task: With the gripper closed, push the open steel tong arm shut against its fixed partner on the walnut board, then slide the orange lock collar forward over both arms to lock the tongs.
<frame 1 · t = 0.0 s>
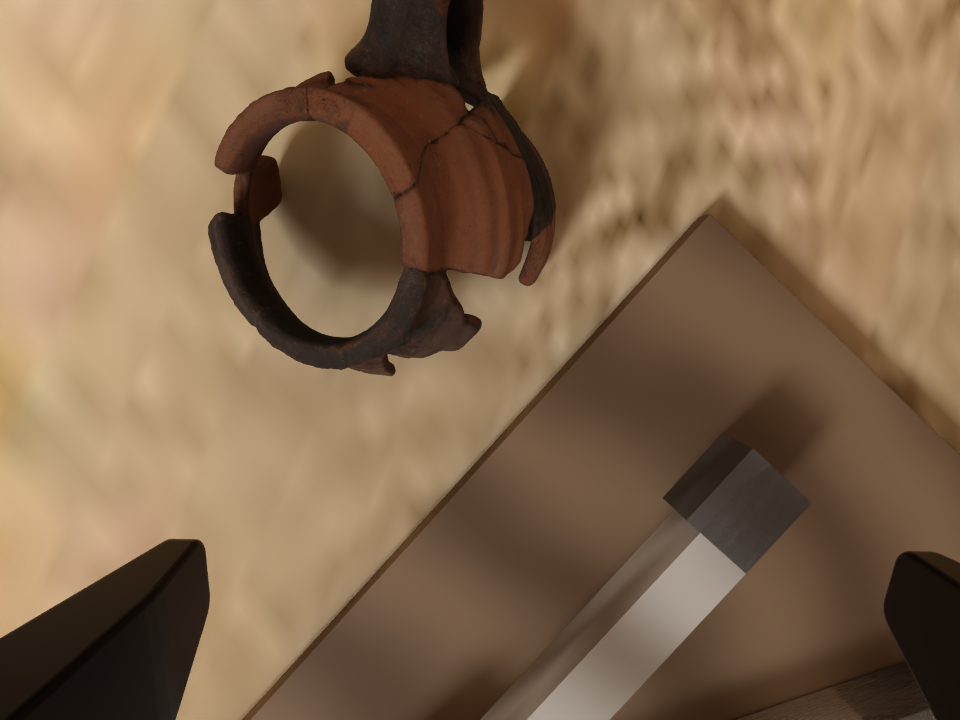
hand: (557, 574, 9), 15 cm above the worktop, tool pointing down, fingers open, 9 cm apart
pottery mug: (411, 191, 24), on the worktop
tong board: (670, 688, 26), on the worktop
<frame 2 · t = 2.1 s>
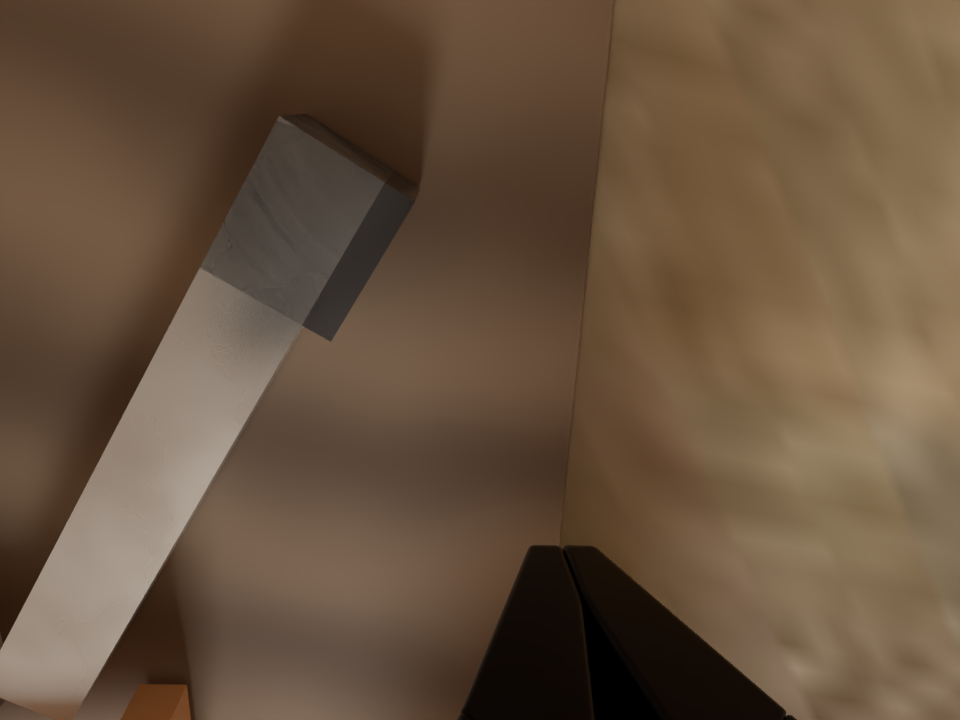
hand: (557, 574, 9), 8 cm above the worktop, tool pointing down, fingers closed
tong arm: (193, 445, 15), point 2 cm above the worktop, hinge at -30.0°
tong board: (108, 395, 17), on the worktop
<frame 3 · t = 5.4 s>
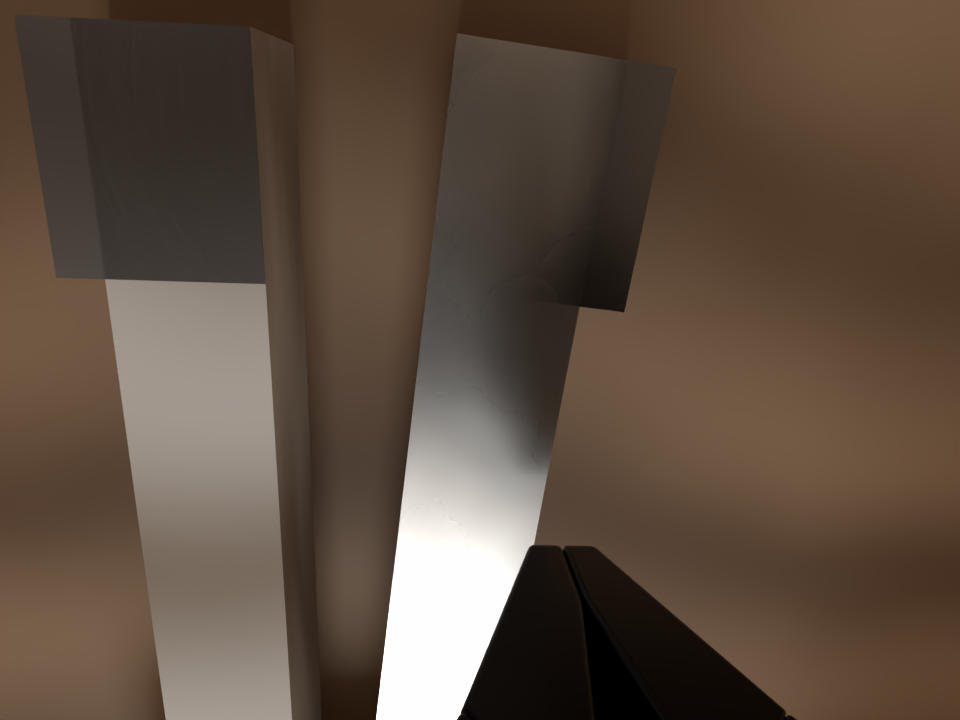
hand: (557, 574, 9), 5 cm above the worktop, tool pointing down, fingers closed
tong arm: (480, 515, 12), point 2 cm above the worktop, hinge at -5.5°
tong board: (474, 494, 14), on the worktop
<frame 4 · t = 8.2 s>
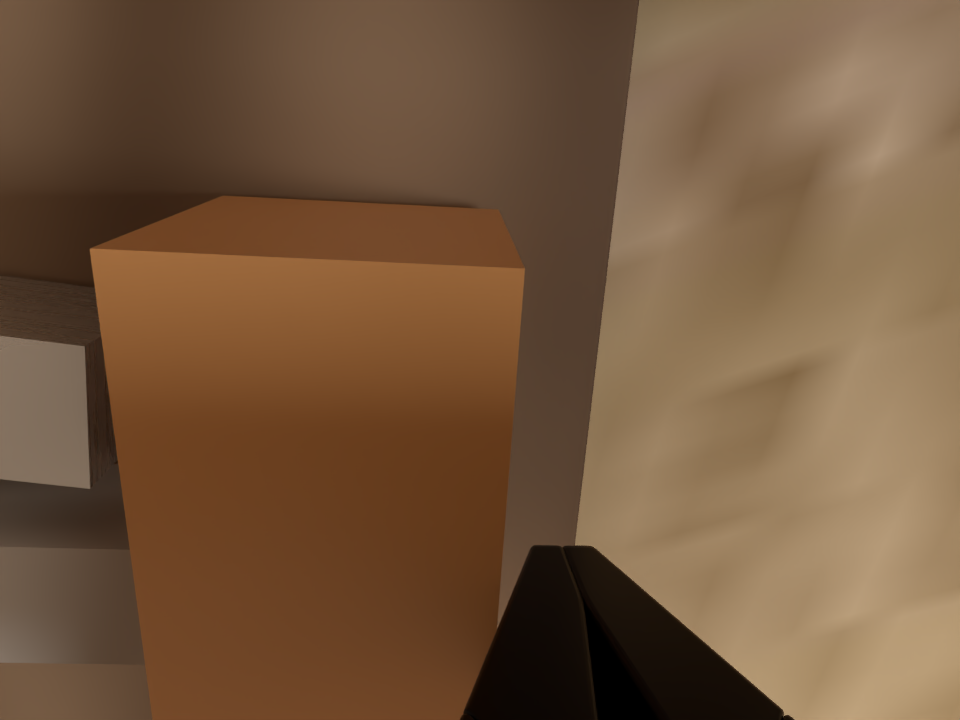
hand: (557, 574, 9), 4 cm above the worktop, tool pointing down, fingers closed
lock collar: (345, 520, 10), point 3 cm above the worktop, slide at 0.3 cm, touching gripper
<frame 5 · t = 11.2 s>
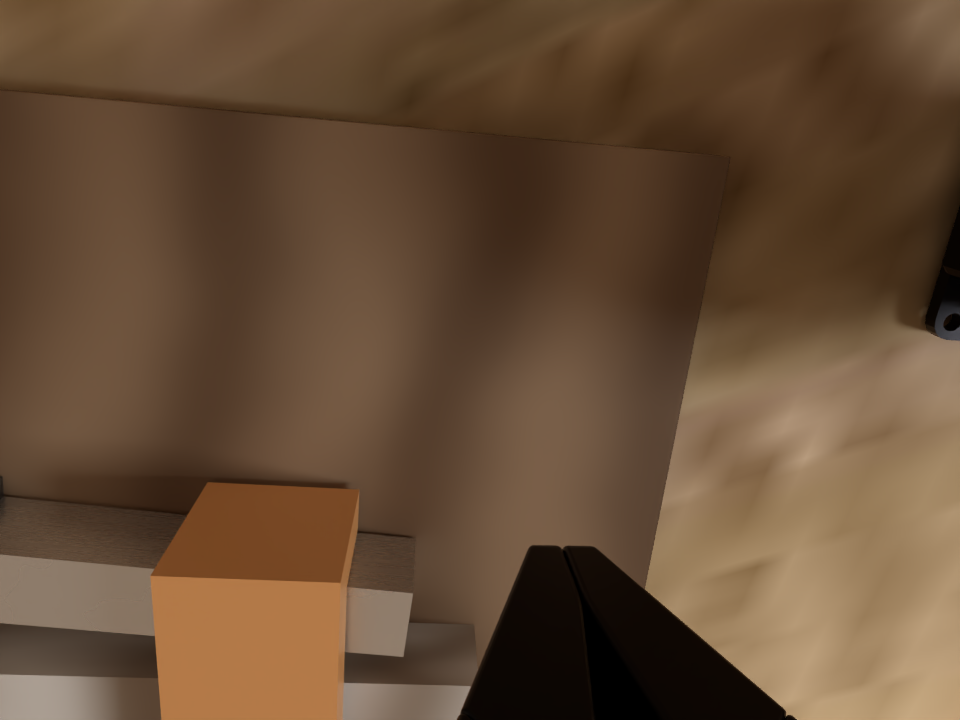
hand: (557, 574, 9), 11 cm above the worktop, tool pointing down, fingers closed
tong arm: (142, 560, 18), point 2 cm above the worktop, hinge at -4.0°
lock collar: (269, 663, 18), point 3 cm above the worktop, slide at 7.0 cm
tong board: (207, 507, 20), on the worktop
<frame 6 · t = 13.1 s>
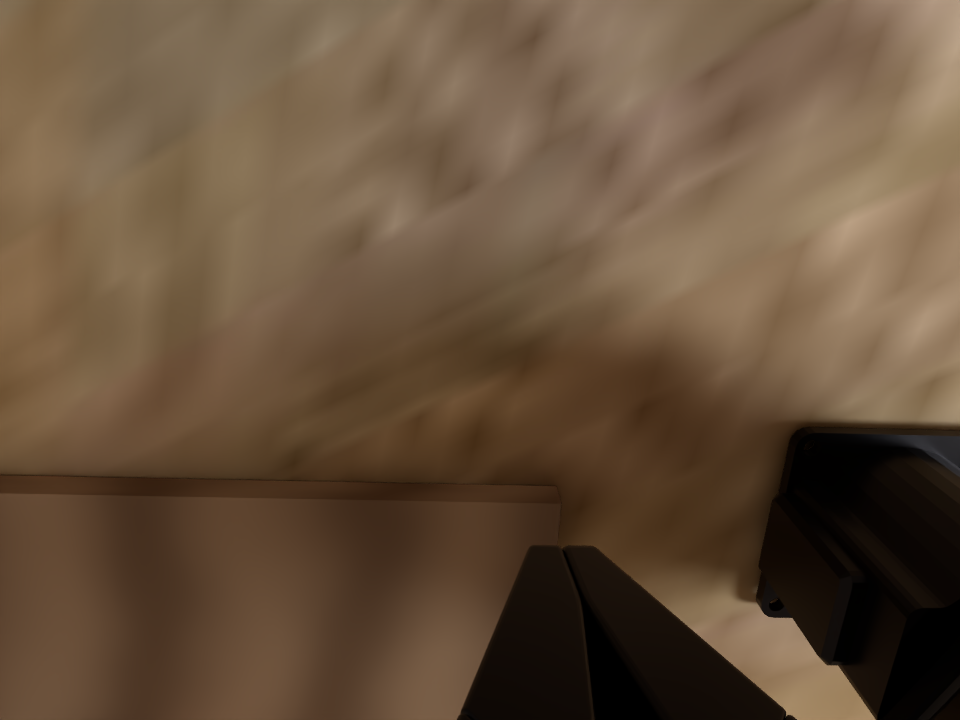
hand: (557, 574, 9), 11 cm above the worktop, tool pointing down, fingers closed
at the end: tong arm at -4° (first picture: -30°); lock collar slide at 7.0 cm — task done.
